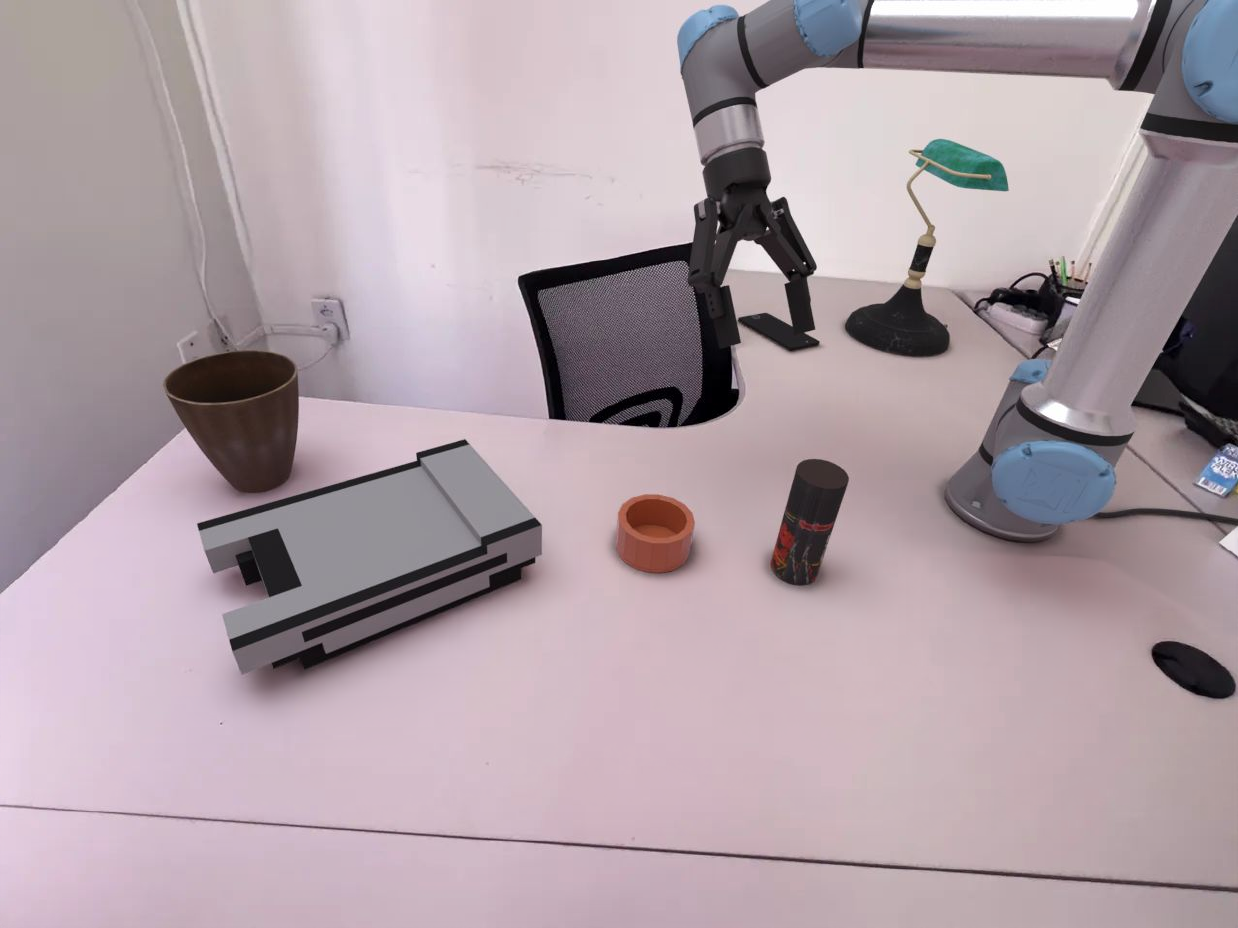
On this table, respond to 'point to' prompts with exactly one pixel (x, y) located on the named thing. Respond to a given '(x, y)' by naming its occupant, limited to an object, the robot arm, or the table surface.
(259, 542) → the game console
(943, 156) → the banker's lamp
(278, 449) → the flower pot
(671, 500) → the cup
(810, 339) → the cell phone
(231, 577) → the table surface
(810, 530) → the deodorant
